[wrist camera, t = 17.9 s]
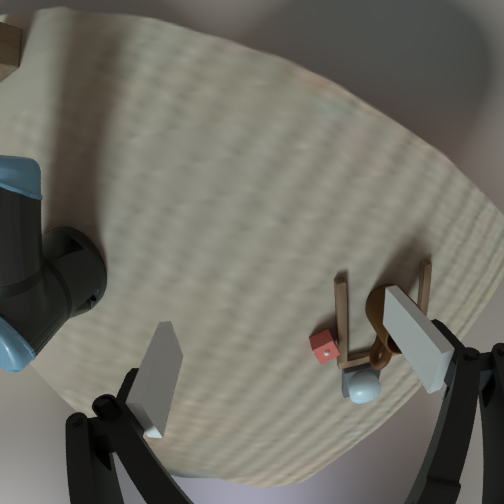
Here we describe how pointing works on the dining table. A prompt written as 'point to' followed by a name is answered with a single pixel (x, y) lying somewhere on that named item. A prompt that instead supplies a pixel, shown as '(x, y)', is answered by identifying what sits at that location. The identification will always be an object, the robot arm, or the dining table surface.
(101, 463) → the robot arm
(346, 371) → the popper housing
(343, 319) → the bay
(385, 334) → the mug
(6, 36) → the wooden block
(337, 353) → the die
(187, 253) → the dining table surface
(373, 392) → the dome
